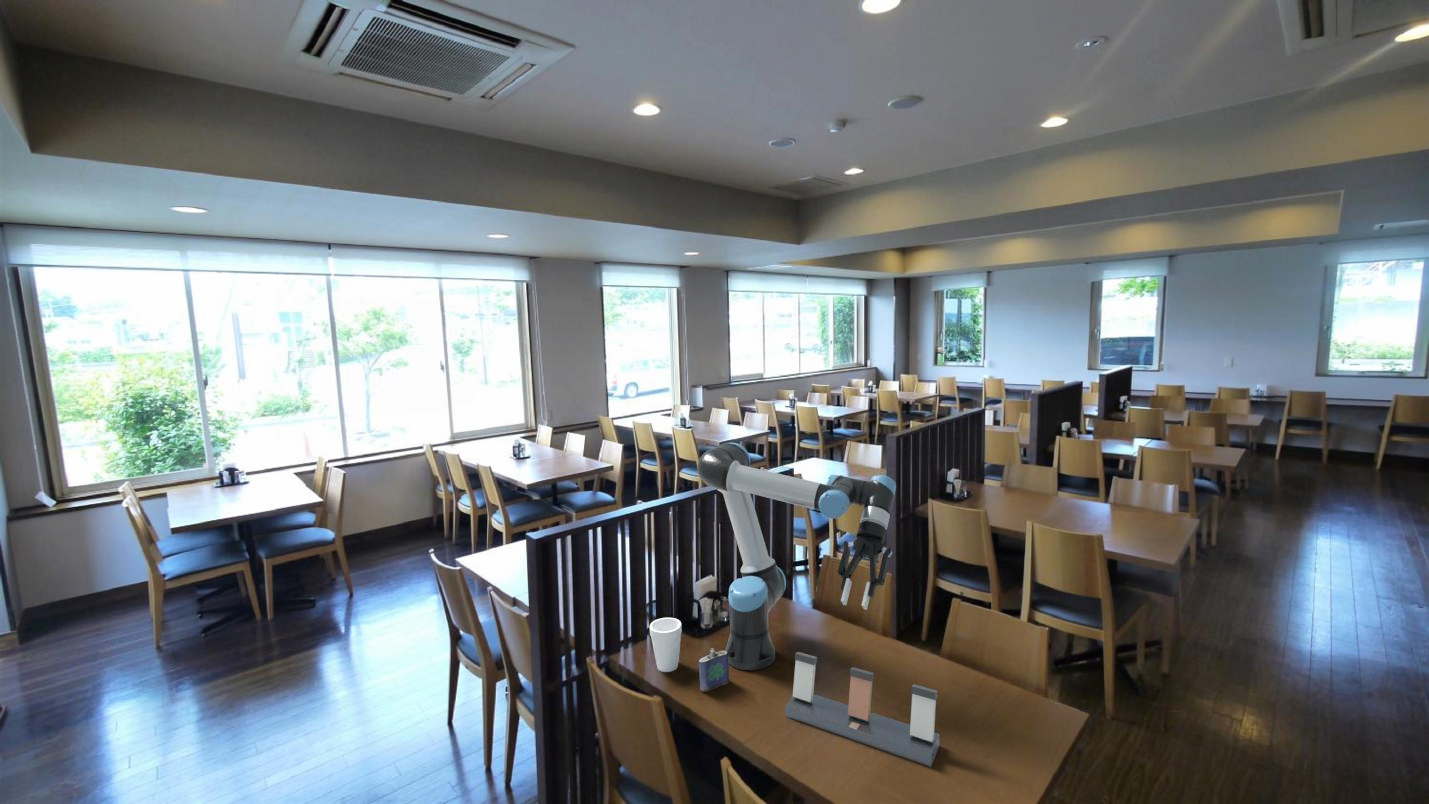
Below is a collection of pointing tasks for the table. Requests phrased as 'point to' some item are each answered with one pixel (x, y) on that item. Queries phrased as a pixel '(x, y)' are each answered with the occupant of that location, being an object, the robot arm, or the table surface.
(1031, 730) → the table surface
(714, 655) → the flask
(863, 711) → the lever middle
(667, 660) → the foam cup
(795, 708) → the switch panel
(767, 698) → the table surface
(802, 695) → the lever left
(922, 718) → the lever right
